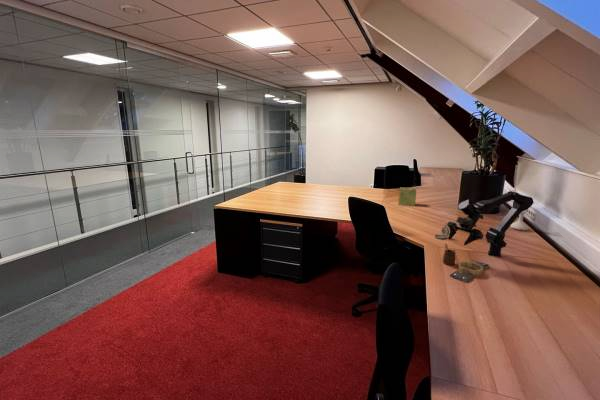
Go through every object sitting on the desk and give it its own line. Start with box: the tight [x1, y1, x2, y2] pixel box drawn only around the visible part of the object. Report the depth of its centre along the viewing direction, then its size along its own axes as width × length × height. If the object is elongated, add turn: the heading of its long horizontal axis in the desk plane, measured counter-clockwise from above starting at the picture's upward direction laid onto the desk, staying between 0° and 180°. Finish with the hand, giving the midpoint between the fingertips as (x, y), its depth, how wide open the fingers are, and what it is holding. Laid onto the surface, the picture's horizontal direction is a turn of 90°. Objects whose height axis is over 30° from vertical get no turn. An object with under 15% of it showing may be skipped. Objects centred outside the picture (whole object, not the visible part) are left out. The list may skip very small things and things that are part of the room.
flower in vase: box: [509, 210, 530, 231], centre depth 216 cm, size 13×11×25 cm
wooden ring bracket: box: [449, 259, 490, 283], centre depth 154 cm, size 27×11×3 cm, turn 129°
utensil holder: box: [442, 243, 456, 266], centre depth 163 cm, size 6×6×12 cm
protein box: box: [397, 187, 417, 207], centre depth 290 cm, size 10×15×16 cm
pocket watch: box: [434, 222, 450, 240], centre depth 201 cm, size 8×8×10 cm
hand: (456, 242), depth 164 cm, fingers open, 9 cm apart
